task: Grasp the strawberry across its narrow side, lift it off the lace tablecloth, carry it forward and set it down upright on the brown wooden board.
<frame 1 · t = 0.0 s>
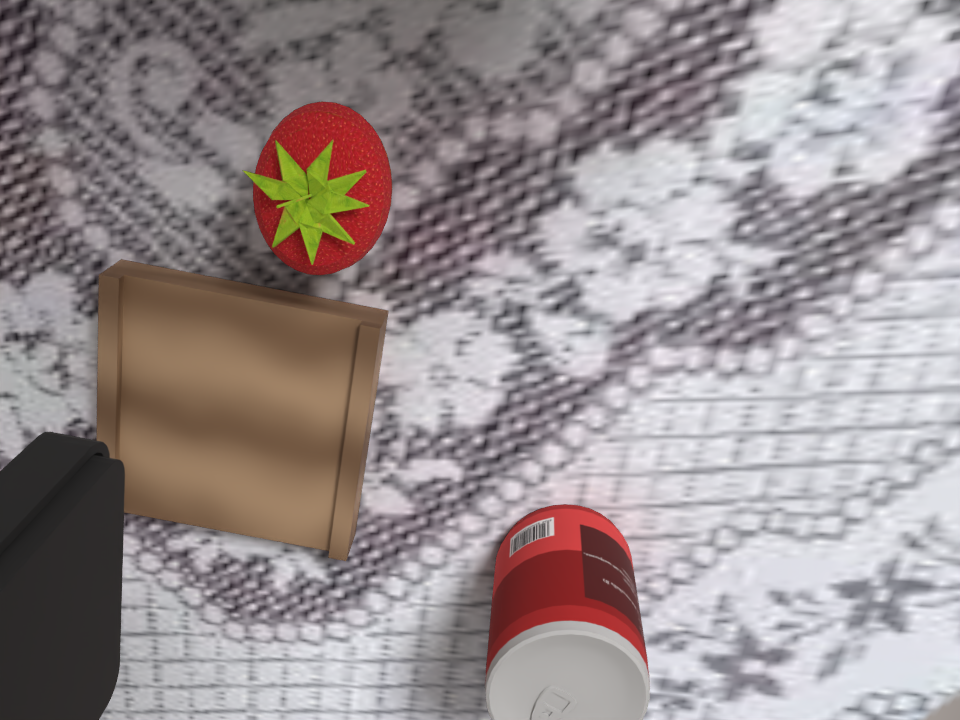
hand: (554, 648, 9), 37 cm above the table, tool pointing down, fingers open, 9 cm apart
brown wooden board: (244, 404, 50), on the table
canned food: (562, 556, 53), on the table
strawberry: (348, 165, 45), on the table
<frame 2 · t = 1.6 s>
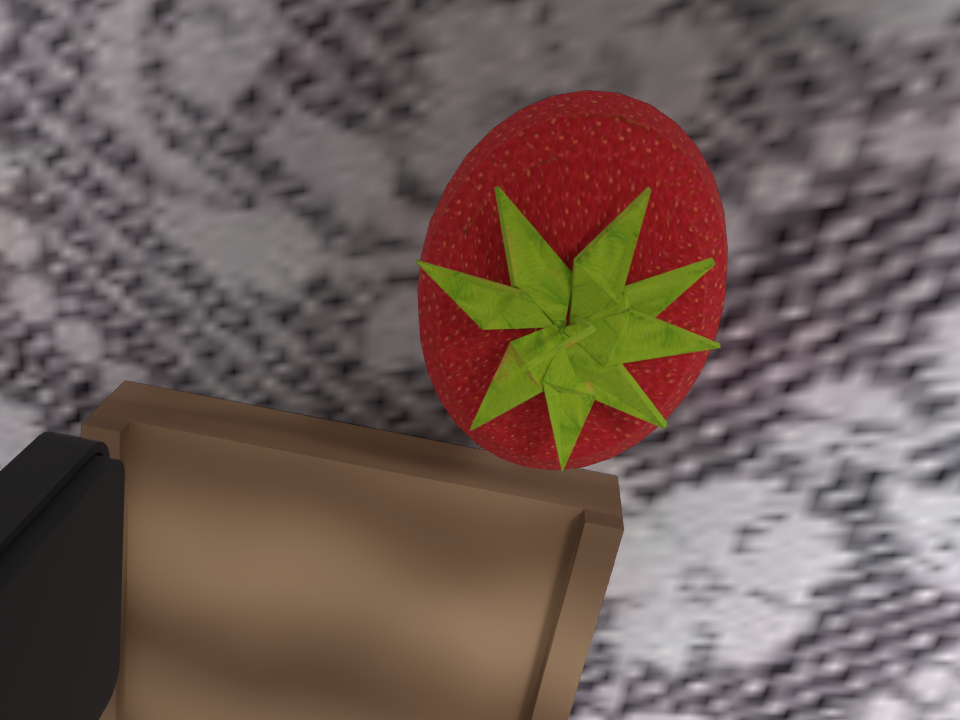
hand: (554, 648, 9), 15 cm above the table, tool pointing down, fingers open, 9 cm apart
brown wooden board: (343, 622, 29), on the table
strawberry: (566, 213, 23), on the table
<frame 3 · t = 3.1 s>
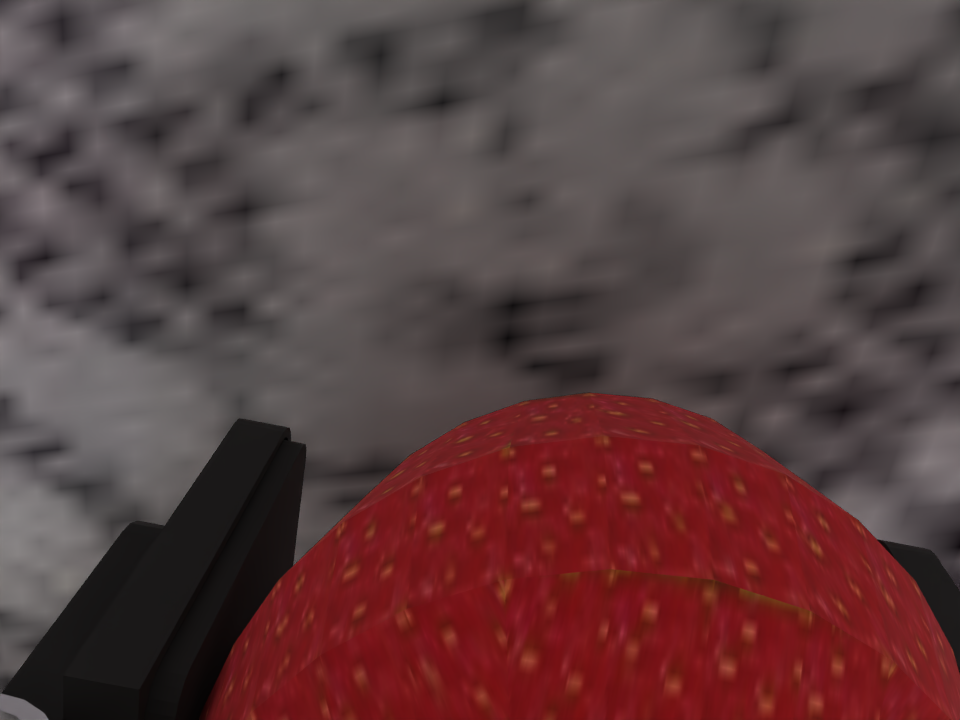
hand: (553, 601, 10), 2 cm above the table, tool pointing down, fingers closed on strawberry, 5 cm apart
strawberry: (552, 491, 12), on the table, touching gripper
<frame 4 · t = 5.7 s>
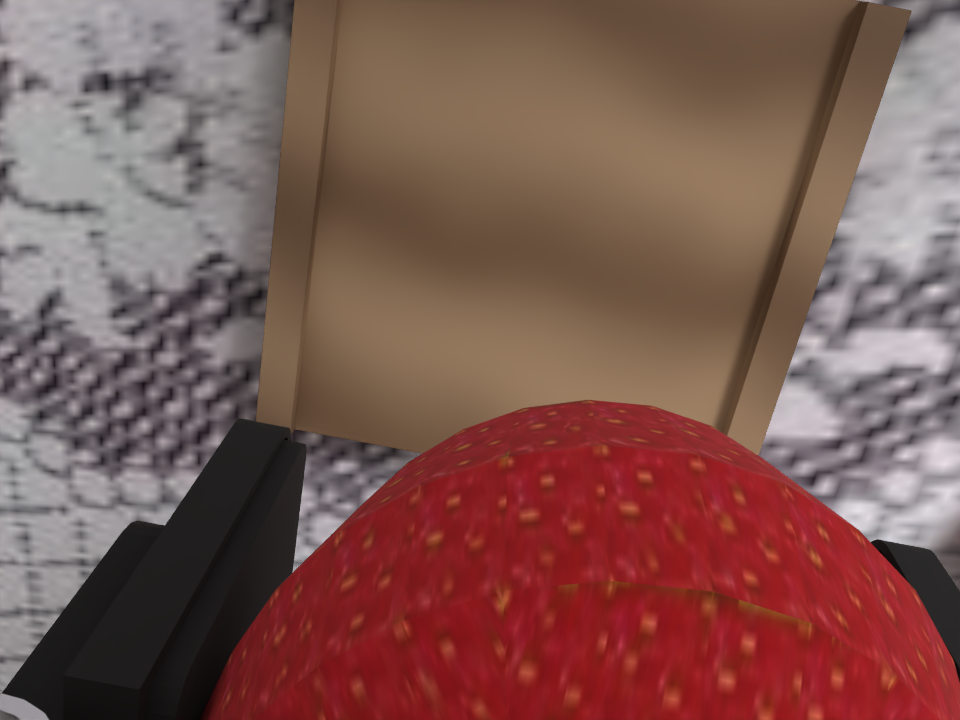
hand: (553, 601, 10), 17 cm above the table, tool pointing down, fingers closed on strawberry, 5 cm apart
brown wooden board: (545, 220, 26), on the table
strawberry: (551, 496, 12), point 15 cm above the table, touching gripper
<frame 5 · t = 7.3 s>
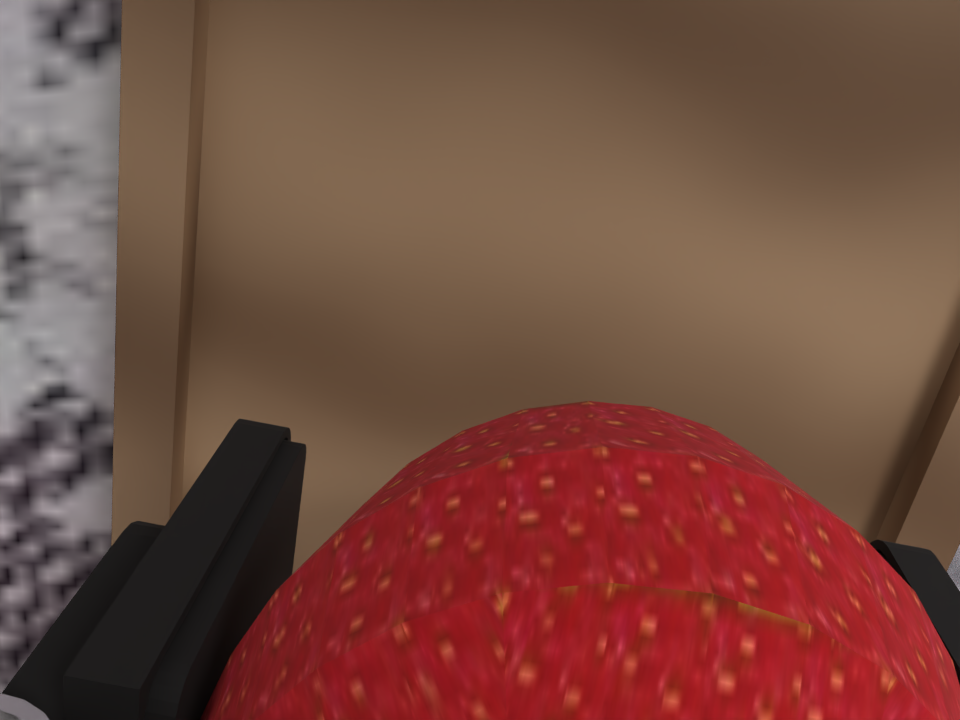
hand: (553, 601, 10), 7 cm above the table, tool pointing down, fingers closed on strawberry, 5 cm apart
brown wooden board: (551, 343, 17), on the table
strawberry: (551, 496, 12), point 5 cm above the table, touching gripper
when the fingers open (5 cm above the table, at t = 8.3 s): strawberry stays where it is, resting on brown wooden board.
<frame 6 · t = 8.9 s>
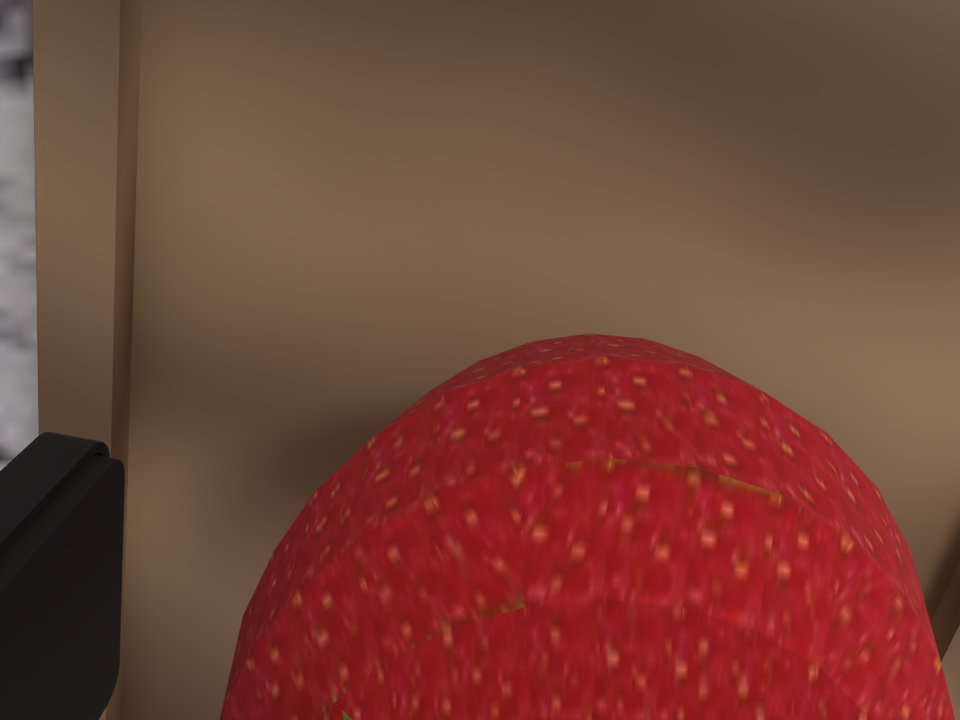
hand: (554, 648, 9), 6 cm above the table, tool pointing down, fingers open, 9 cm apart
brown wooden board: (550, 402, 15), on the table
strawberry: (554, 447, 13), point 2 cm above the table, touching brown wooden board
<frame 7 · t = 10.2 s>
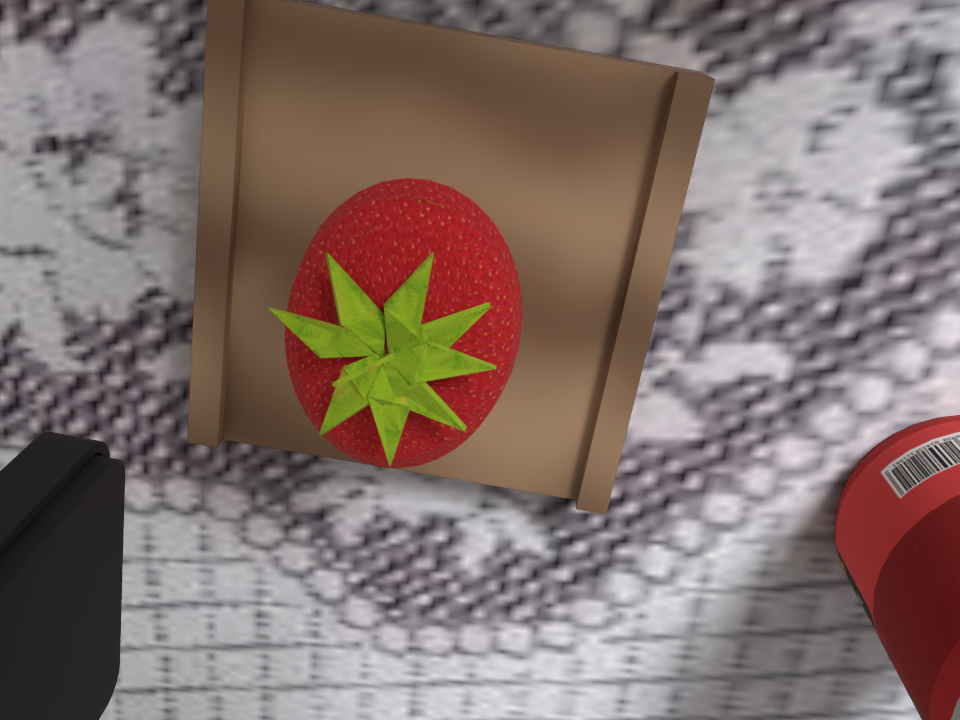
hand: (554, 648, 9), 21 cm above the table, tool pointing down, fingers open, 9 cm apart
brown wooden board: (435, 254, 30), on the table
canned food: (937, 505, 33), on the table
strawberry: (430, 265, 28), point 2 cm above the table, touching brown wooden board
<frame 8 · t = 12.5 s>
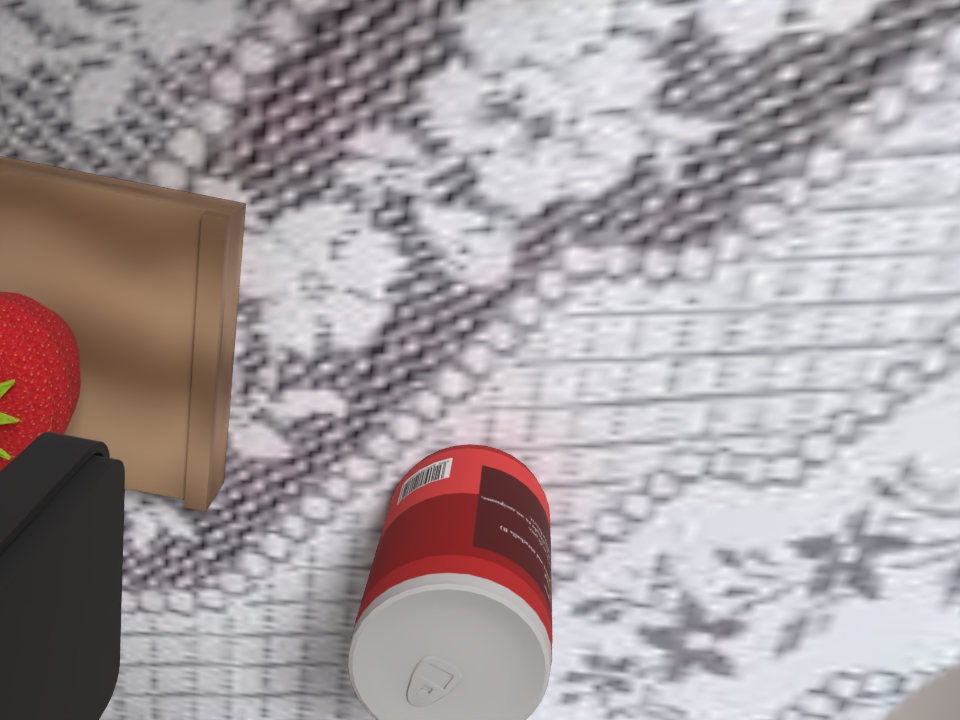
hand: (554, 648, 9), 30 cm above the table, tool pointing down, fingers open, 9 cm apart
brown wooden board: (82, 323, 42), on the table
canned food: (470, 508, 45), on the table
strawberry: (63, 334, 40), point 2 cm above the table, touching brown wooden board
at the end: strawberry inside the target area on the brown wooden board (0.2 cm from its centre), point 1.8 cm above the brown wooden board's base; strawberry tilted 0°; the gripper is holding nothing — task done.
